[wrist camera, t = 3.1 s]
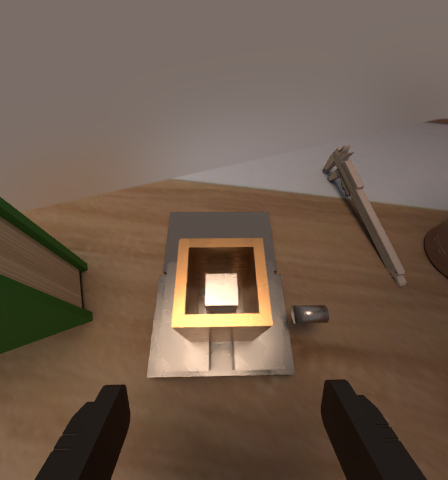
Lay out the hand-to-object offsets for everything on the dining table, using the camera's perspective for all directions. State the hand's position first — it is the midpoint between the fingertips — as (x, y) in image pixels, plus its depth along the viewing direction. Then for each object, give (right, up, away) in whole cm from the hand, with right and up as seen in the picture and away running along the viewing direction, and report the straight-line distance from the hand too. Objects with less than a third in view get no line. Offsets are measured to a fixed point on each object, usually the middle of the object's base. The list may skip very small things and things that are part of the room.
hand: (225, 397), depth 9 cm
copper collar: (0, 0, +10) cm, 10 cm away
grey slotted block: (+1, -3, +16) cm, 17 cm away
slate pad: (-1, +6, +21) cm, 22 cm away
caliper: (+19, +9, +24) cm, 32 cm away
